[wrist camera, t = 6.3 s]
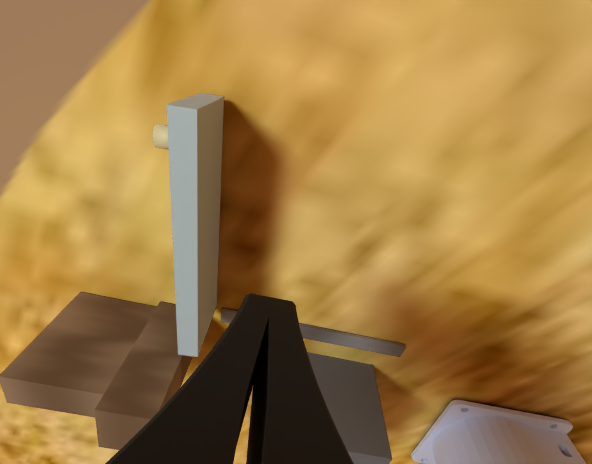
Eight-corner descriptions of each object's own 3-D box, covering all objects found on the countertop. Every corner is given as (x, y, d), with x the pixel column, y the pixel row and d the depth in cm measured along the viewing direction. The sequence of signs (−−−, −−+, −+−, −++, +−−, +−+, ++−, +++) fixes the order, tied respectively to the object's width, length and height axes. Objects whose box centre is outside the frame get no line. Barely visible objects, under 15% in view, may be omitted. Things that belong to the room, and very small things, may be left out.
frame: (404, 344, 21) (444, 462, 15) (385, 378, 23) (413, 497, 17) (79, 279, 19) (-28, 381, 13) (84, 320, 21) (-9, 429, 15)
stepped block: (372, 363, 22) (392, 459, 17) (354, 398, 24) (367, 494, 19) (273, 344, 22) (262, 437, 16) (263, 382, 24) (249, 475, 18)
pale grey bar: (216, 306, 20) (197, 357, 16) (183, 301, 20) (158, 351, 16) (224, 96, 14) (197, 109, 11) (177, 89, 14) (135, 99, 11)
